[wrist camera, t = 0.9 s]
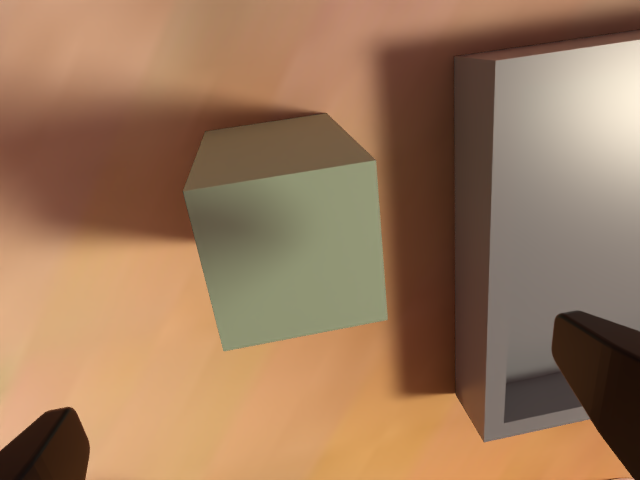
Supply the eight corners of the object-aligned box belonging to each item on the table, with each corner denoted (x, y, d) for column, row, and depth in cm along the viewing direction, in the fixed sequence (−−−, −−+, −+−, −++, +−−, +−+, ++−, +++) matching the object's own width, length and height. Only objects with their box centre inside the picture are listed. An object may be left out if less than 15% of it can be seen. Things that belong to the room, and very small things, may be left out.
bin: (712, 340, 28) (771, 379, 25) (455, 394, 27) (483, 442, 24) (803, 5, 21) (904, 1, 18) (454, 56, 19) (495, 60, 16)
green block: (339, 223, 22) (387, 319, 14) (229, 242, 21) (223, 351, 14) (326, 113, 20) (376, 160, 12) (205, 131, 19) (182, 191, 12)
